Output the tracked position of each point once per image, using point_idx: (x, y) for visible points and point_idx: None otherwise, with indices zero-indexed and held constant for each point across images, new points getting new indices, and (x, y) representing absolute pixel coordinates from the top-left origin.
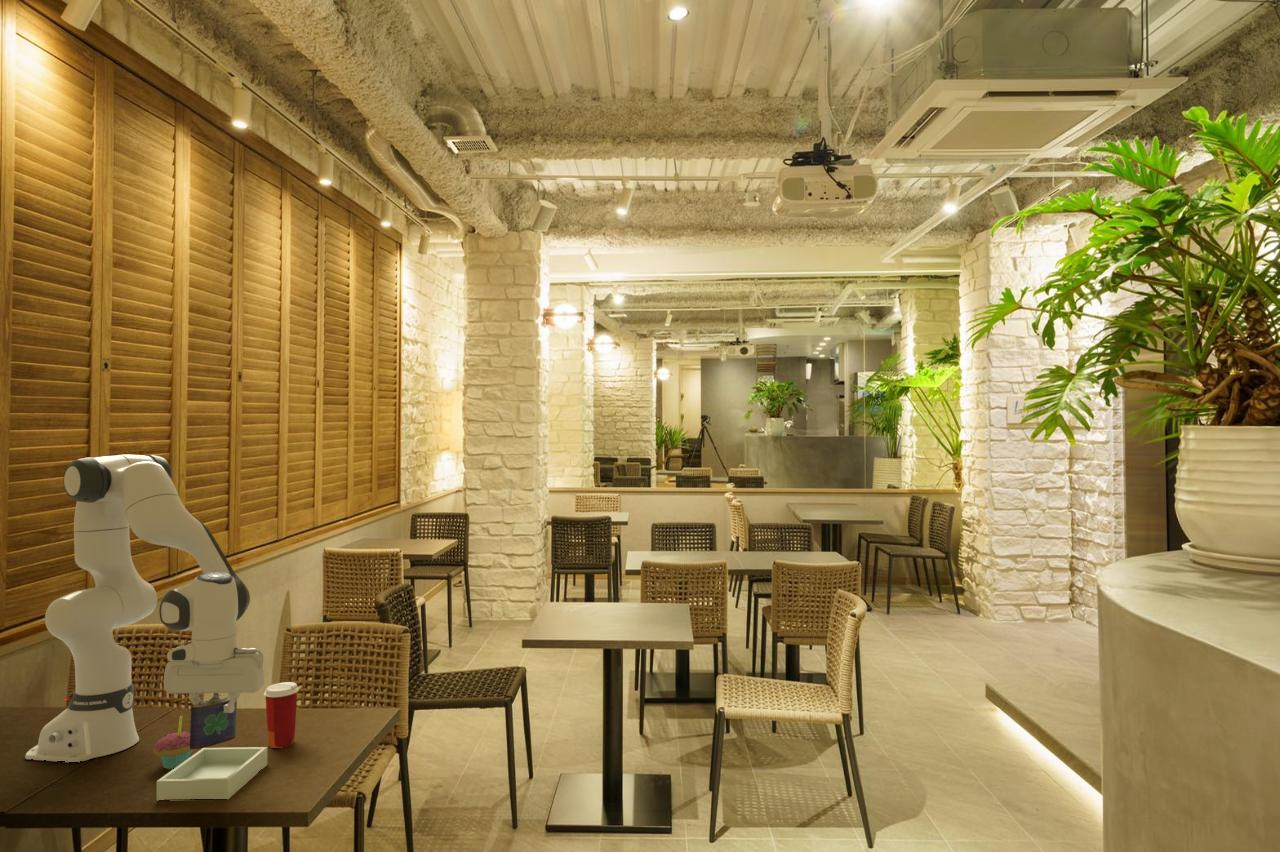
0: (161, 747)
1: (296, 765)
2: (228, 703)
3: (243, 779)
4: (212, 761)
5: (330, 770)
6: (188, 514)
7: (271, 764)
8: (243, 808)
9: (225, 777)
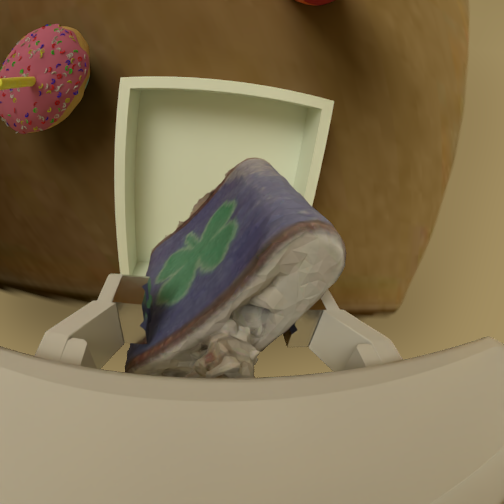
0: (20, 130)
1: (380, 125)
2: (318, 356)
3: None
4: (163, 90)
5: (435, 174)
6: None
7: None
8: None
9: None
